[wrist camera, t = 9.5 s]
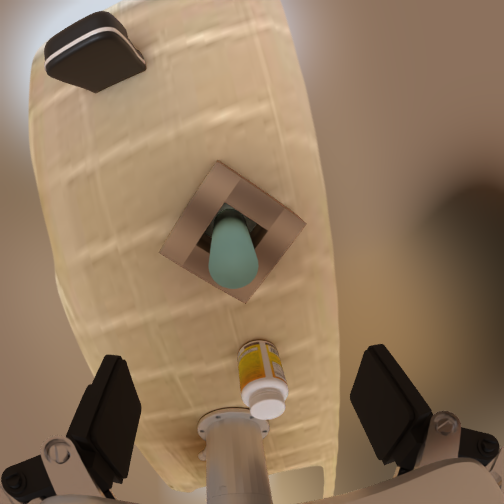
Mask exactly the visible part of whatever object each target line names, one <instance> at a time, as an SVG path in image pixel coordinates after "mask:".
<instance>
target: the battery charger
mask: <svg viewBox="0 0 504 504" xmlns="http://www.w3.org/2000/svg"><path fill="white" fill-rule="evenodd" d="M44 55H45V64H44V66H45V70H46V72H47V74H48V75H49V76H50V77H52V78H55V79H57V80H60V81H62V82H65V83H68V84H71V85H75V86H78V87H81V88H84V89H87V90H89V91H92V92H94V93H96V92H98V91H100V90H102V89H104V88H107V87H109V86H111V85H113V84H115V83H117V82H119V81H121V80H124V79H126V78H128V77H130V76H133V75H135V74H137V73H140V72H142V71H144V70H145V69H146V66H145V65H146V63H145V61H144V58H143V56H142V54H141V53H140V52H139V51H138V50H136V49H135V47H134V46H133V44H132V43H131V42H130V40H129V39H128V36H127V32H126V29H125V28H124V27H123V25H122V24H121V23H120V22H119V21H118V20H117V19H116V18H115V17H114V16H113V15H112V14H110V13H109V12H105V11H99V12H95V13H93V14H90V15H89V16H86V17H85V18H83V19H81V20H79V21H77V22H75V23H74V24H72V25H70V26H69V27H67V28H65V29H64V30H62V31H61V32H59V33H58V34H56V35H55V36H53V37H52V38H51V39H50V40H49V41H48V42H47V43H46V45H45V49H44Z"/></svg>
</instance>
